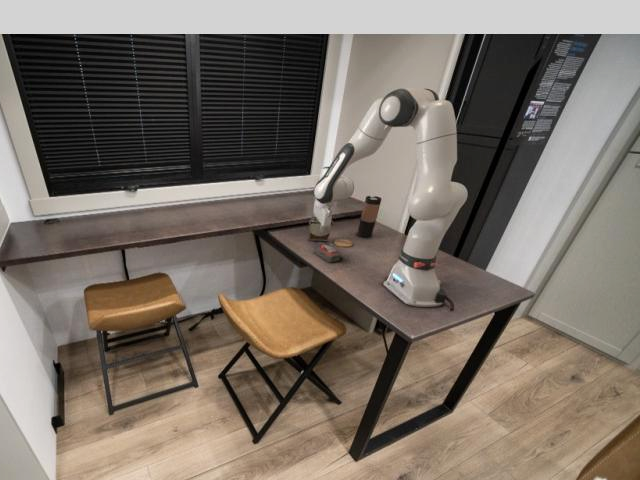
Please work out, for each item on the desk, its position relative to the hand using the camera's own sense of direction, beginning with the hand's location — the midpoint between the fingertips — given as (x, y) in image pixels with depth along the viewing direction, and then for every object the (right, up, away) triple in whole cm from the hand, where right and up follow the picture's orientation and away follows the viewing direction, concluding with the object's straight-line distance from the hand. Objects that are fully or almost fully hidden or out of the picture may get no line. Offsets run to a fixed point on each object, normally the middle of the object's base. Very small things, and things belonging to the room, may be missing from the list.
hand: (319, 229), depth 157 cm
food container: (0, -4, +3) cm, 5 cm away
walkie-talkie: (0, -14, -10) cm, 17 cm away
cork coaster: (+12, -7, 0) cm, 14 cm away
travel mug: (+27, -1, +10) cm, 29 cm away
